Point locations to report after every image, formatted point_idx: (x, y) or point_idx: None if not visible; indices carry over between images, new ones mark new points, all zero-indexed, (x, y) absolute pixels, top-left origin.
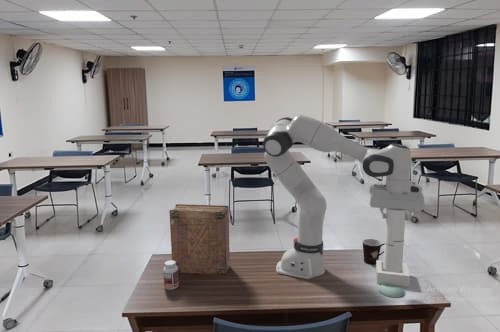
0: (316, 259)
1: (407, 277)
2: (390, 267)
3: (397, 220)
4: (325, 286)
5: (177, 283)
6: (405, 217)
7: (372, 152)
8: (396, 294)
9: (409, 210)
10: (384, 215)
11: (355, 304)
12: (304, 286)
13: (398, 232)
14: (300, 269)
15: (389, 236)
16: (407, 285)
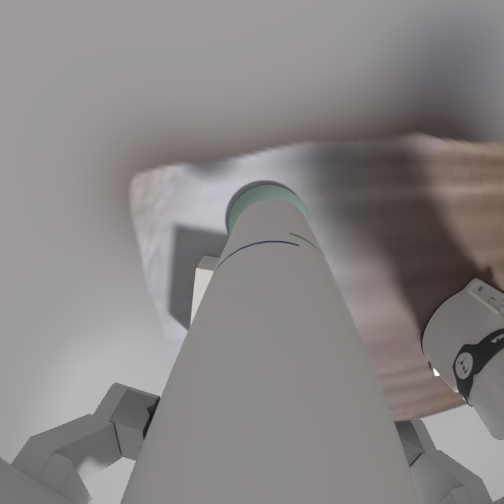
0: (476, 324)
1: (204, 267)
2: (292, 207)
3: (285, 355)
4: (447, 243)
5: None
6: (146, 418)
7: None
8: (258, 196)
9: (57, 482)
10: (416, 446)
11: (393, 141)
12: (487, 240)
13: (261, 273)
14: (494, 299)
15: (330, 276)
16: (208, 257)
